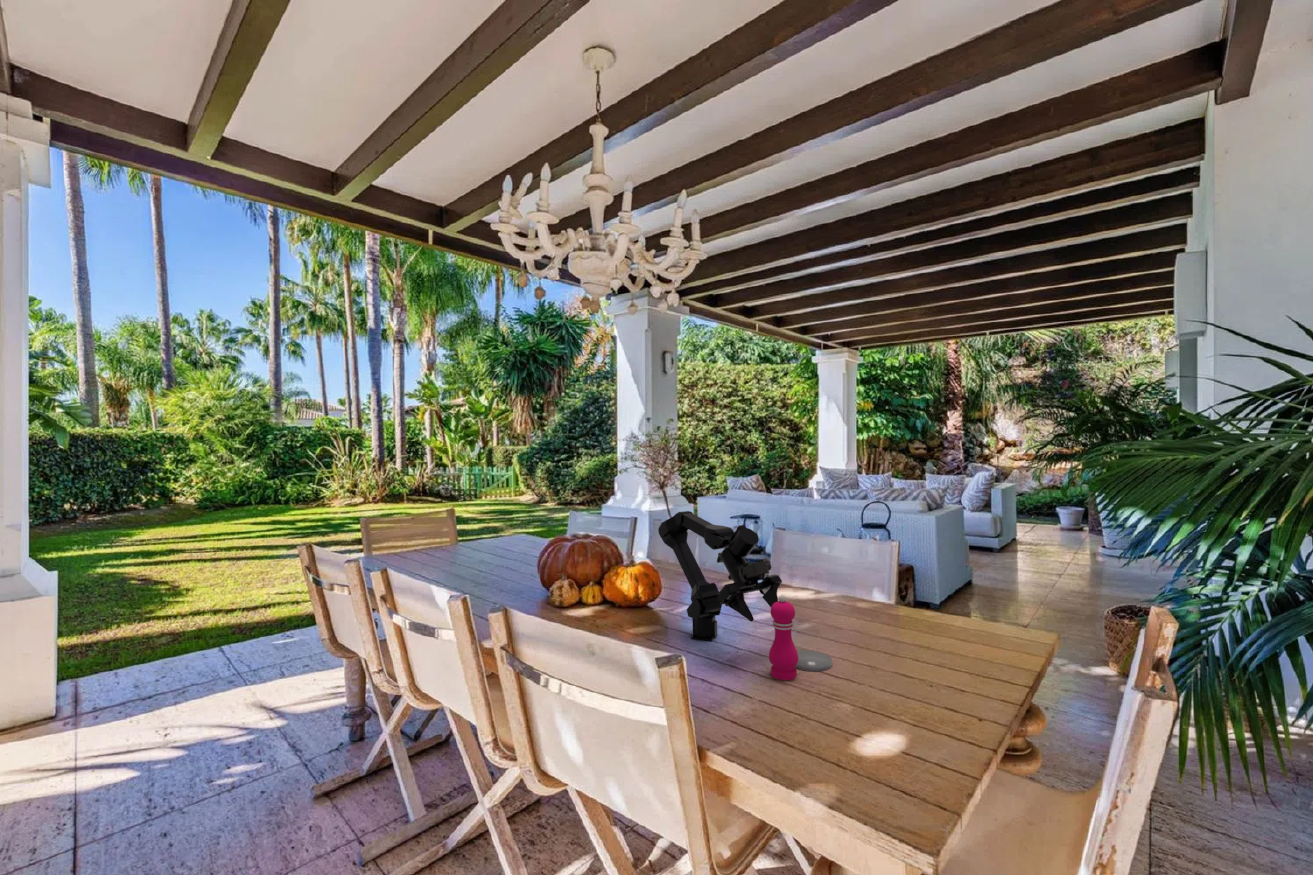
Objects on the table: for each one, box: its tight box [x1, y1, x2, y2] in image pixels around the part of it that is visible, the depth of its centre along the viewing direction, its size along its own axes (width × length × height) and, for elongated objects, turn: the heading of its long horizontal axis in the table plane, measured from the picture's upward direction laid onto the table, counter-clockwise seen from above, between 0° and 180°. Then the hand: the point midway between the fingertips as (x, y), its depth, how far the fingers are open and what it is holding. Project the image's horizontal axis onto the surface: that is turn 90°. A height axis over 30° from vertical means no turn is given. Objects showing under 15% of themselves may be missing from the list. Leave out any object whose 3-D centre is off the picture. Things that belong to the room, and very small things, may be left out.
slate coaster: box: [795, 649, 833, 673], centre depth 152 cm, size 11×11×1 cm
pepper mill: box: [768, 594, 798, 681], centre depth 145 cm, size 7×7×20 cm
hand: (766, 617), depth 150 cm, fingers open, 9 cm apart
